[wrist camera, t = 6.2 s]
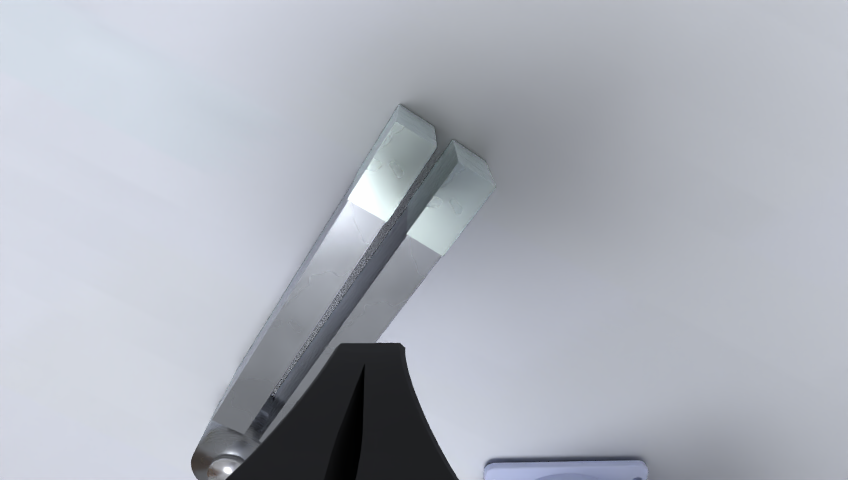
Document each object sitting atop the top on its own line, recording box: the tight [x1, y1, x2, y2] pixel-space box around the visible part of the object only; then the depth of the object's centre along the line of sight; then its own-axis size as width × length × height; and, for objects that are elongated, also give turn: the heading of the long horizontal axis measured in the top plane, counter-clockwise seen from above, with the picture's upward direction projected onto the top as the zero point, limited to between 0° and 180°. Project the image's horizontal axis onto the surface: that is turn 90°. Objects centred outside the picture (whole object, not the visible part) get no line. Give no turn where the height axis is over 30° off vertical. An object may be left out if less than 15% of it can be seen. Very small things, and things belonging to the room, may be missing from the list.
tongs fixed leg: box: [191, 140, 496, 480], centre depth 21 cm, size 18×3×3 cm, turn 146°
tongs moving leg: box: [212, 104, 437, 434], centre depth 20 cm, size 14×2×3 cm, turn 147°
